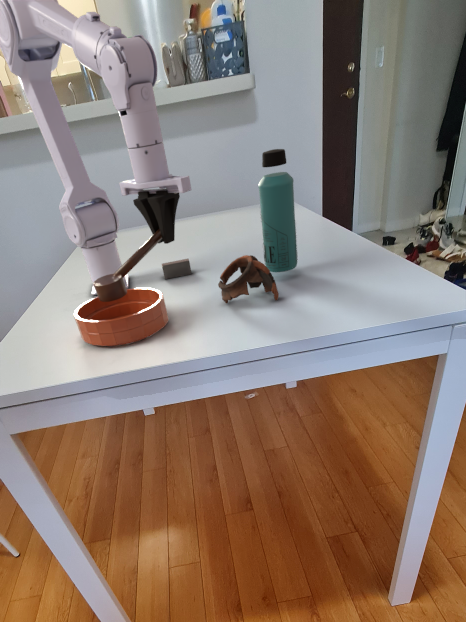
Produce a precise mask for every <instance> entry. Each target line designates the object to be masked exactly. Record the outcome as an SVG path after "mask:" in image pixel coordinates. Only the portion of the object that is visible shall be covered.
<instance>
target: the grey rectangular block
mask: <svg viewBox="0 0 466 622" xmlns="http://www.w3.org/2000/svg"><path fill="white" fill-rule="evenodd" d="M190 262H191V261H190V259H189V258H184V259H179V260H173V261H168V262H163V263H161V268H162V269H161V270H162V273H163V277H164V280H169V279H174V278H179V277H185V276H188V275H192V267H191V263H190Z"/></svg>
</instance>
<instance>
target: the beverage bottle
mask: <svg viewBox="0 0 466 622" xmlns="http://www.w3.org/2000/svg"><path fill="white" fill-rule="evenodd" d="M261 155H262V157H261V158H262V159H261V161H262V162H261V165H262V166H261V167H262V168H275V167H279V166H283V165H286V164H287V156H286V150H285V149H284V148H274V149H269V150H266V151H264V152H262V154H261ZM294 183H295V182H294V178H293V176H292V175H291V174H290V173H288V172H287V171H279V172H272V173H268V174H265V175H263V176H262V177H261V179H260V181H259V182H258V185H257V187H258V193H259V204H260V206H259V207H260V219H261V220H260V221H261V232H262V241H263V243H262V245H263V251H262V252H263V260H264V263H263V264H264V265H265V266H266V267H267V268H268V269H269V270H270V272H271V273H283V272H288V271H291V270H293V269H295V268H296V267H297V266H298V261H299V260H298V247H297V238H298V237H297V236H298V235H297V228H296V227H297V226H296V215H295V214H296V213H295V211H296V210H295V194H294V192H295V191H294V189H295V188H294Z"/></svg>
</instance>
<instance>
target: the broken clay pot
mask: <svg viewBox="0 0 466 622" xmlns="http://www.w3.org/2000/svg"><path fill="white" fill-rule="evenodd" d="M238 270H239V272H240V275H239V276H238V277H237V278H236V279H234V280H232V282H231V281H230V282H229V279H230V278H231V277H232V276H234V274H236V272H237V271H238ZM219 279H220V280H219V282H218V284H217V286H218V288H219V289H220V290H221V293H220V294H221V299H222V301H223V302H224V303H225V304H228V303H229V301H233V300H234V299H238V298H239V297H240V296H250V293H249V289H248V286H249V288H250V289H254V288H256V289H257V288H259V287H260V286H263V289H264V293H272V294H273V298H274V300H275V301H278V300H279V296H280V295H279V291H278V287H277V283H276V281H275V279H274V276H273V273H272V272H270V270H269V269H268V268H267V267H266V265H265V263H263V262H261V261H259V259H258V258H256V256H254V255H251V254H249V255H248V254H245V255H242V256H240V257H237V258H236V259H234V260H233V261H231V262H230V264H229V265H227V266H226V268H224V270H223V271H222V273H221V275H220V276H219ZM228 282H229V283H228Z"/></svg>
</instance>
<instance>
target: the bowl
mask: <svg viewBox="0 0 466 622" xmlns="http://www.w3.org/2000/svg"><path fill="white" fill-rule="evenodd" d="M73 318H74V320H75V321H74V322H75V323H76V326H77V328H78V331H79V334H80V337H81V339H82V340H83V341H84V343H87V344H90V345H92V346H100V347H119V346H123V345H130V344H133V343H136V342H140V341H142V340H145V339H147V338H149V337H151V336H153V335H155V334H156V333H158V332H159V331H160V330H162V329H163V328H164V327H165V326H166V325H167V324H168V322H169V313H168V309H167V306H166V300H165V297H164V293H163V292H162V291H161V290H159V289H155V288H152V287H134V288H127V294H126V295H125V296H124V297H122V298H120V299H117V300H114V301H110V302H102V301H100V300H99V298H98V296H96V297H93V298H91V299H89V300H87V301H85V302H83V303H82V304H80V305H79V306H78V307H77V308H76V309H74V312H73Z"/></svg>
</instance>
